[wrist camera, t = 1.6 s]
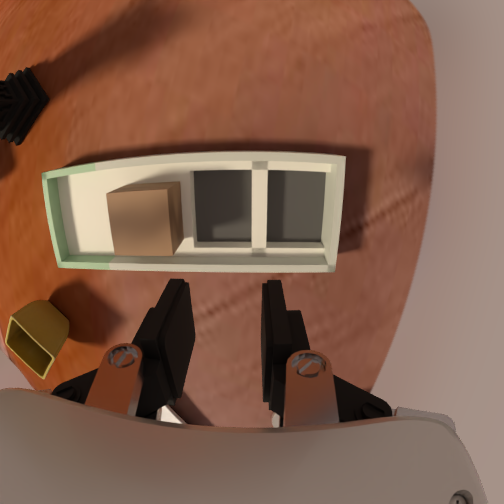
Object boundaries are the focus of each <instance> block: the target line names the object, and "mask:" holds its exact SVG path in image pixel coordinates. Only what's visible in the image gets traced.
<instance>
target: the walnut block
mask: <svg viewBox="0 0 504 504" xmlns="http://www.w3.org/2000/svg"><path fill="white" fill-rule="evenodd" d="M106 198H107V207H108V215H109V222H110V229H111V235H112V241H113V247H114V253H115V255H126V256H173V255H174V254H175V252H176V250H177V249H178V247H179V246H180V244H181V243H182V241H183V240H184V231H183V218H182V203H181V185H180V181H177V182H159V183H143V184H130V185H125V186H122V187H120V188H117V189H115V190H113V191H111V192H108V193H106Z"/></svg>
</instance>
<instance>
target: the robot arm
mask: <svg viewBox="0 0 504 504" xmlns="http://www.w3.org/2000/svg"><path fill="white" fill-rule="evenodd" d="M194 342H195V327H194V320H193V313H192V305H191V297H190V288H189V283H188V282H185V281H184V279H170V280H169V282H168V284H167V286H166V288H165V289H164V291H163V293H162V295H161V297H160V299H159V301H158V303H157V305H156V306H155V308H153V307H152V308H150V309H149V311H148V313H147V314H146V316H145V318H144V320H143V322H142V324H141V326H140V328H139V330H138V331H137V333H136V335H135V337H134V339H133V341H132V343H131V344H129V343H123V344H118V345H115V346H113V347H111V348H110V349H109V350H108V351H107V352H106V353H105V355H104V357H103V359H102V362H101V364H100V366H99V368H97V369H95V370H93V371H90V372H88V373H85V374H83V375H81V376H78V377H76V378H73V379H71V380H69V381H66V382H64V383H62V384H60V385H58V386H57V387H56V388H55V389H54V390H53V392H52V391H51V389H47V390H39V391H35V390H30V389H22V388H5V389H1V390H0V504H488V501H487V498H486V495H485V492H484V489H483V486H482V483H481V480H480V478H479V475H478V473H477V471H476V469H475V466H474V464H473V462H472V460H471V457H470V455H469V453H468V451H467V450H466V448H465V446H464V444H463V443H462V441H461V440H460V438H459V437H458V435H457V434H456V429H455V424H454V422H453V420H452V419H451V418H450V417H448V416H447V415H444V414H438V413H431V412H425V411H419V410H412V409H407V408H402V407H397V409H391V407H390V406H389V405H388V404H387V402H385V401H384V400H382V399H380V398H378V397H376V396H374V395H372V394H370V393H368V392H366V391H364V390H362V389H360V388H358V387H356V386H354V385H352V384H350V383H348V382H346V381H344V380H343V379H341V378H339V377H337V376H335V375H333V373H332V366H331V363H330V360H329V359H328V358H327V357H326V356H325V355H323V354H322V353H320V352H317V351H313V350H310V346H309V342H308V338H307V334H306V330H305V326H304V322H303V318H302V314H301V311H300V310H289V311H287V310H286V305H285V299H284V294H283V289H282V283H281V280H267V283H262V314H261V358H262V387H263V402H269V410H272V411H273V412H274V413H273V415H272V424H273V426H274V428H236V427H215V426H201V425H190V424H181V423H173V422H166V421H161V415H162V408H161V407H163V406H165V405H174V406H175V402H176V398H181V395H182V391H183V387H184V383H185V378H186V374H187V370H188V366H189V362H190V358H191V354H192V350H193V346H194Z"/></svg>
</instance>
